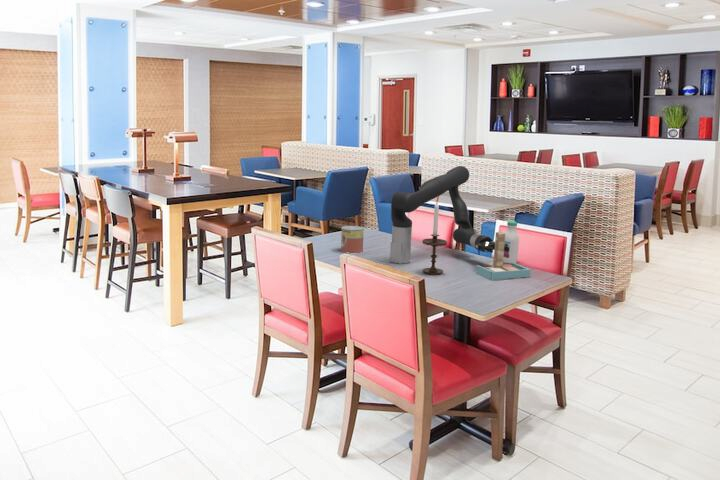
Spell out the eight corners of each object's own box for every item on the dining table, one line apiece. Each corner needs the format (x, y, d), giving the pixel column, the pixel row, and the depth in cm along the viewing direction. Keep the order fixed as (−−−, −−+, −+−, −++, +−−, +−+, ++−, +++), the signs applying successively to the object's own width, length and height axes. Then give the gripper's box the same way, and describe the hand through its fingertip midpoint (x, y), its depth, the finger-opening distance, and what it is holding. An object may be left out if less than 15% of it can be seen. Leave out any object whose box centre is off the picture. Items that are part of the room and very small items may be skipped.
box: (476, 272, 290) (477, 265, 289) (513, 270, 297) (514, 262, 296) (491, 280, 278) (492, 272, 278) (530, 277, 286) (530, 269, 285)
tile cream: (488, 274, 288) (488, 268, 288) (498, 274, 290) (499, 267, 290) (494, 278, 283) (495, 271, 283) (505, 277, 285) (505, 270, 284)
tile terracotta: (501, 273, 291) (502, 267, 290) (512, 273, 293) (512, 266, 292) (508, 276, 286) (509, 270, 285) (519, 276, 288) (519, 269, 287)
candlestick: (441, 269, 294) (445, 193, 287) (447, 275, 284) (452, 197, 277) (418, 269, 293) (422, 193, 285) (424, 275, 282) (428, 196, 275)
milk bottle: (514, 260, 316) (518, 220, 312) (518, 264, 309) (522, 223, 305) (499, 259, 316) (502, 220, 312) (503, 263, 309) (506, 222, 304)
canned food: (337, 249, 327) (338, 226, 324) (357, 247, 332) (358, 225, 329) (346, 254, 317) (346, 230, 314) (366, 252, 322) (367, 229, 319)
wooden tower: (482, 272, 291) (485, 232, 287) (508, 270, 296) (511, 231, 292) (485, 274, 288) (489, 234, 284) (512, 272, 293) (515, 232, 289)
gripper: (468, 235, 300) (487, 242, 285) (494, 234, 305) (514, 241, 290) (467, 250, 301) (486, 259, 287) (493, 249, 306) (513, 257, 292)
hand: (500, 250), depth 288 cm, fingers open, 8 cm apart
